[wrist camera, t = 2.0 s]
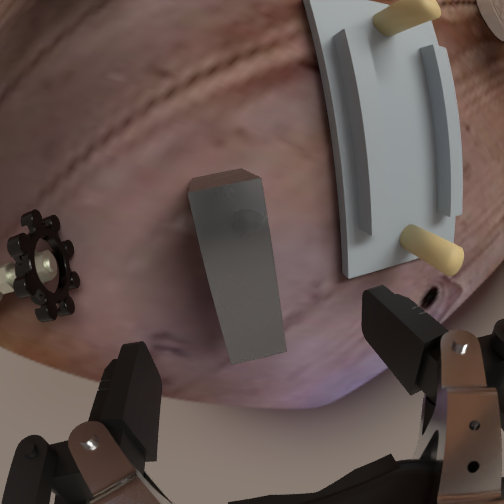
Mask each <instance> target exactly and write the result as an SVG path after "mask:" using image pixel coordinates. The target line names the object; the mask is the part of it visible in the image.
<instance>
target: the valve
mask: <svg viewBox="0 0 504 504" xmlns="http://www.w3.org/2000/svg"><path fill="white" fill-rule="evenodd" d="M25 225H27V226H28V228H29V232H30V233H28V235H26V234H25V233H20V234H18V235H15V236H13V237H10V238H9V240H8V242H7V249H8V252H9V254H10V255H11V257H14V260H15V261H16V263H15V264H14V263H13V262H12V261H11V262H8V263H6V264H3V265H0V301H1V299H2V297H3V294H6V293H9V292H13V291H14V292H15V294H16V296H17V297H18V298H21V299H23V298H27V297H30V298H31V300H32V301H33V302H34V303H35V304H37V305H41V307H40V308H38V309H35V314H36V317H37V319H38V320H39V321H40V322H48V321H53V320H56V318H57V316H66V315H71V314H73V313H74V311H75V305H74V301H73V299H72V298H71V297H70V296H69V293H68V291H69V290H72V289H76V288H78V287H79V286H80V278H79V276H78V274H77V273H76V272H75V271H73V272H72V271H71V269H70V266H69V257H71V256H73V254H74V247H73V244H72V242H71V241H70V240H65V241H62V242H61V240H60V238H59V236H58V231H59V230H60V222H59V219H58V217H57V216H56V215H51V216H49V217H46V218H43V219H42V216H41V214H40V212H39V211H38V210H36V209H35V210H32V211H30V212H27V213H25V214H23V215H22V217H21V226H25ZM40 238H41V239H44V240H45V241H47V242H48V243H49V245H50V246H51V247H52V249H53V251H52V252H50V251H49V250H45V251H42V252H39V251H35V247H36V244H37V242H38V240H39V239H40ZM56 260H57V262H58V267H59V283H58V287H57V289H56V291H55V292H54V293H52V292H50V291H48V290H47V289H46V288H45V287H44V285H43V284H45V283H46V282H47V281H50V280H52V279H53V278H54V277H55V276H56V275H57V263H56ZM56 303H58V305H59V308H58V309H57V306H56Z"/></svg>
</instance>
